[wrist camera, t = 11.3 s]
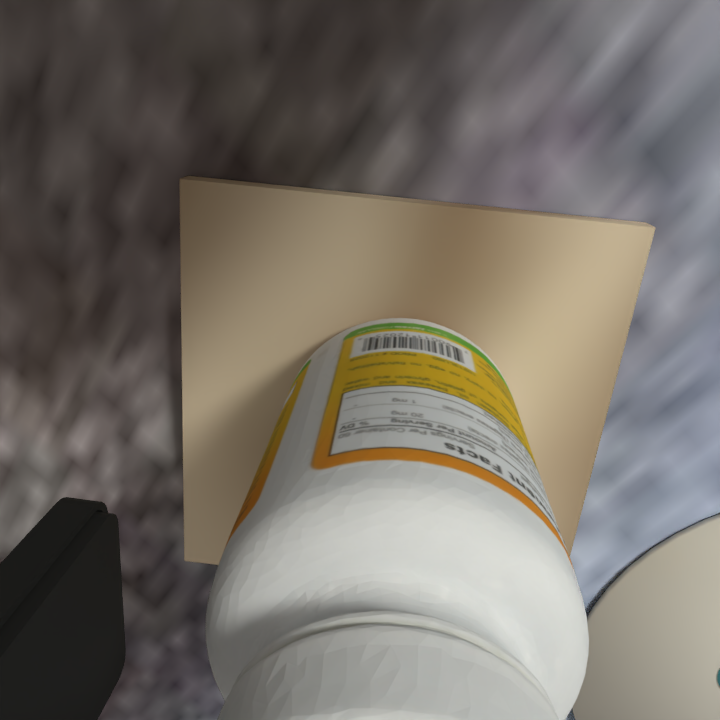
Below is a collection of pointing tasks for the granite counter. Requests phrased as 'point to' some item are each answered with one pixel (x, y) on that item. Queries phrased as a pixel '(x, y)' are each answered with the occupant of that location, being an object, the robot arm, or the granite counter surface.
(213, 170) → the granite counter surface
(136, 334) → the granite counter surface
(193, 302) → the wooden mat
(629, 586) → the coaster
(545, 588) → the supplement bottle
